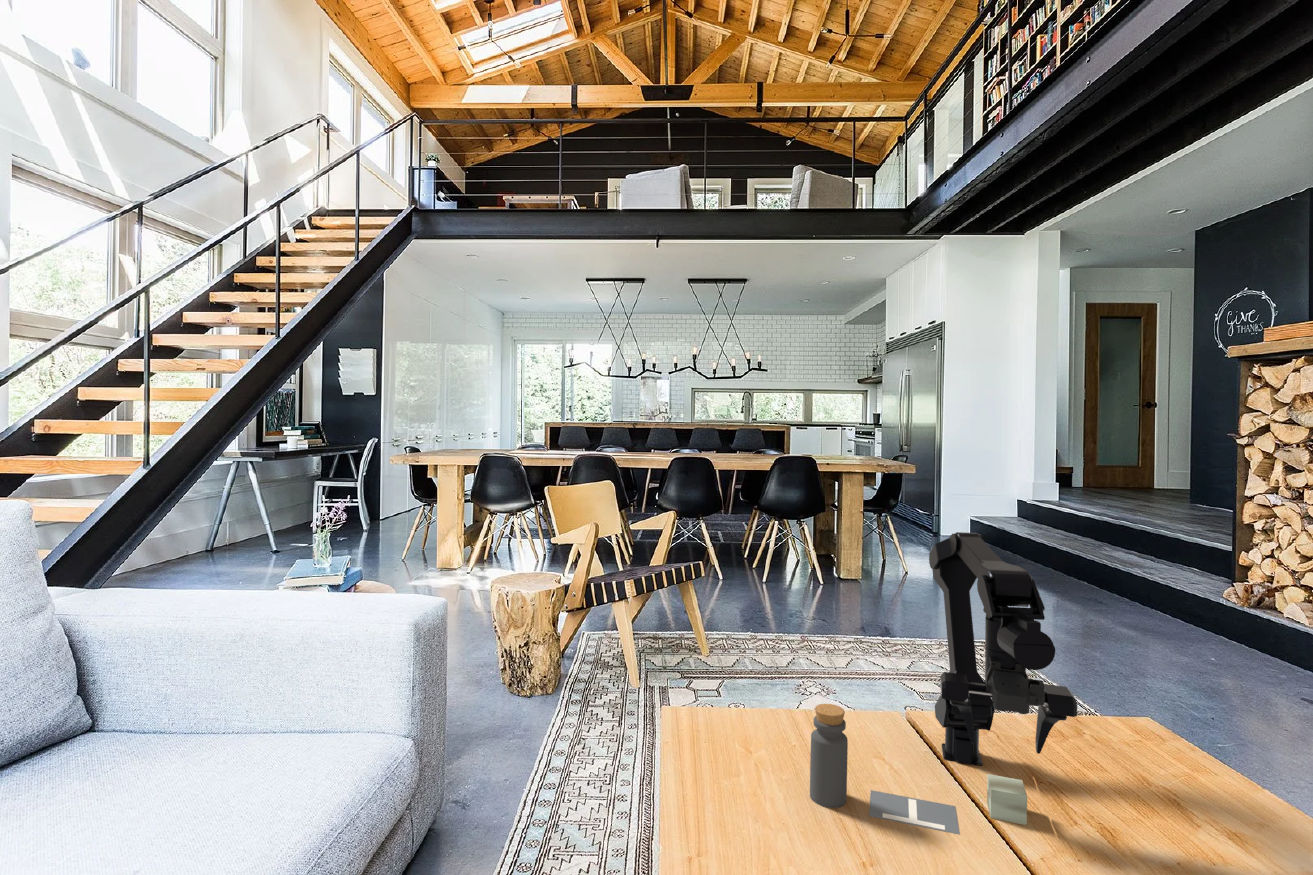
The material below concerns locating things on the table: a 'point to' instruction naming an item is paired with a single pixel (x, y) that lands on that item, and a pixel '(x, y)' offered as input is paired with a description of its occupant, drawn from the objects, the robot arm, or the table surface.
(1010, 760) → the table surface
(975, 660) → the robot arm
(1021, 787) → the green block
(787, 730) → the table surface
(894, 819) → the letter tile
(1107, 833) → the table surface
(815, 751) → the bottle
